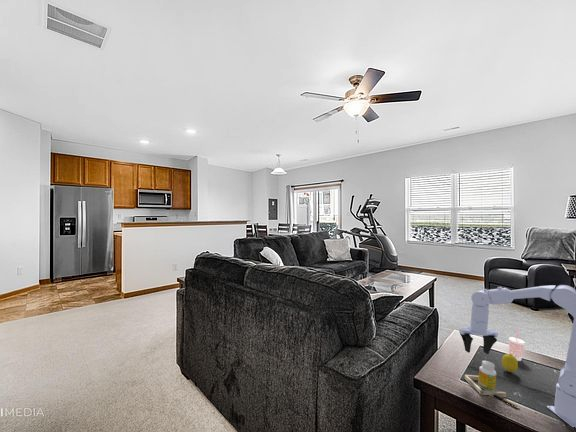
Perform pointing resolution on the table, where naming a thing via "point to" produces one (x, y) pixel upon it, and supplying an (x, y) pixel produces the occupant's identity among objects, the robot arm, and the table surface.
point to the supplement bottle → (487, 376)
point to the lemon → (509, 362)
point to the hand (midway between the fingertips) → (476, 352)
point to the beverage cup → (516, 347)
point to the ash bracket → (482, 392)
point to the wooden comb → (502, 399)
